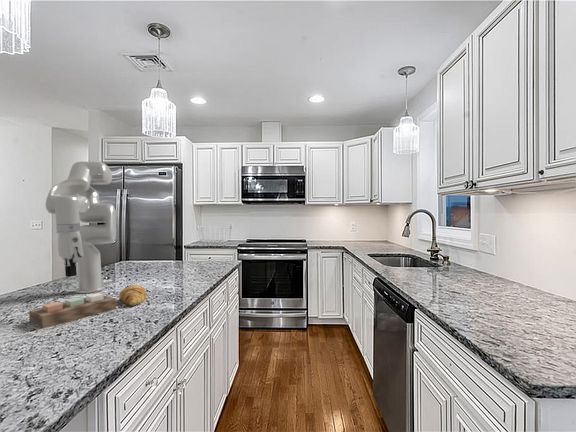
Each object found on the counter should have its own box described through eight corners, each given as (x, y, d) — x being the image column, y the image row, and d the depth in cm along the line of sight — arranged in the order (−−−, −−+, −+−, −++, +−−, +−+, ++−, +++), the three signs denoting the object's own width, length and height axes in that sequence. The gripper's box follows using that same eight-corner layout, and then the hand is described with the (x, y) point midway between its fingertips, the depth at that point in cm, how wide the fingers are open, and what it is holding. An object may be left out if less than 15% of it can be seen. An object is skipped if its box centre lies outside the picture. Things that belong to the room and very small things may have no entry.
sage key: (78, 307, 124) (78, 297, 124) (84, 309, 121) (84, 298, 121) (65, 310, 120) (65, 300, 120) (70, 313, 118) (70, 302, 118)
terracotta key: (57, 312, 118) (57, 301, 118) (63, 314, 116) (62, 303, 116) (43, 316, 115) (42, 305, 114) (48, 318, 112) (47, 307, 112)
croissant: (141, 315, 130) (151, 296, 132) (116, 306, 126) (126, 287, 128) (139, 300, 149) (147, 284, 151) (117, 293, 145) (125, 276, 146)
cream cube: (98, 303, 130) (97, 293, 130) (103, 304, 127) (103, 294, 127) (86, 305, 126) (85, 295, 126) (91, 307, 124) (91, 297, 123)
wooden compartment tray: (100, 304, 134) (100, 294, 134) (116, 308, 127) (115, 298, 127) (29, 321, 115) (29, 310, 114) (43, 328, 108) (42, 316, 108)
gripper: (88, 228, 123) (91, 276, 125) (70, 226, 132) (73, 271, 133) (66, 230, 117) (69, 281, 119) (48, 228, 125) (51, 275, 127)
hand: (71, 275), depth 126 cm, fingers closed
